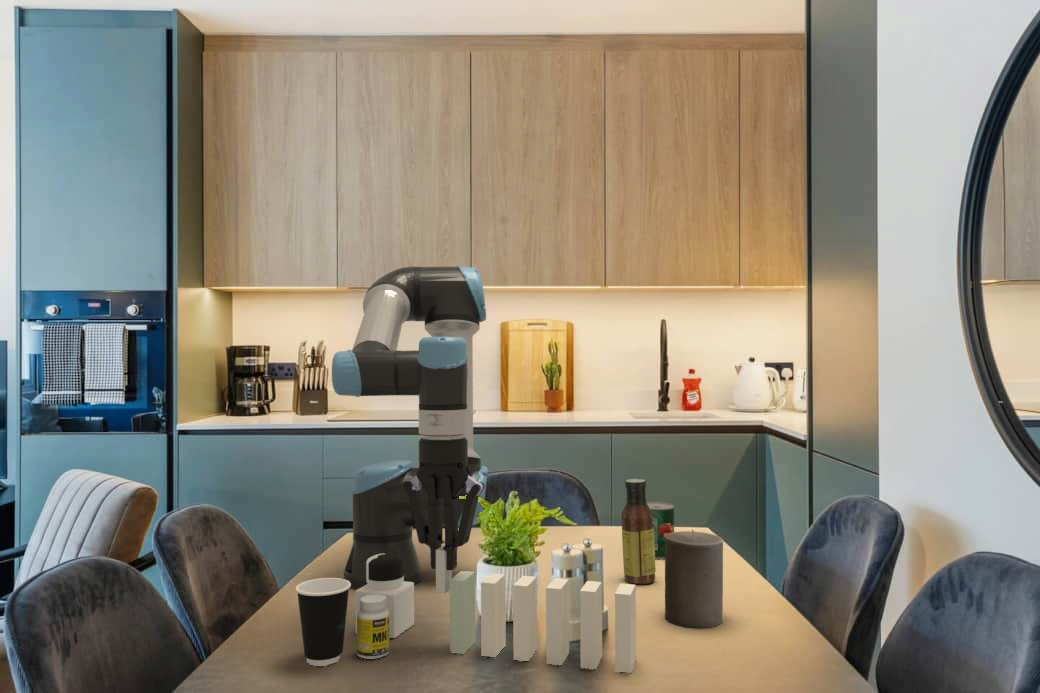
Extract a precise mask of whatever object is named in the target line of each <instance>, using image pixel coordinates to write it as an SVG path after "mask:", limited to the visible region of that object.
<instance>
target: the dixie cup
mask: <svg viewBox="0 0 1040 693" xmlns="http://www.w3.org/2000/svg"><path fill="white" fill-rule="evenodd" d="M350 588H351V583H350V582H349V581H348V580H345V579H344V578H340V577H339V578H338V577H321V578H320V577H319V578H314V579H309V580H306V581H302V582H300V583H298V584H297V585H296V586H295V592H296V593H297V600H298V608H299V615H300V616H299V617H300V627H301V635H302V643H303V644H302V645H303V653H304V657H305V658H306V663H309V664H311V665H327V664H331V663H334V662H336V661H338V660H339V659H340V660H341V656H342V653H343V651H344V650H343V649H344V639H345V630H346V621H347V610H348V601H349V591H350Z"/></svg>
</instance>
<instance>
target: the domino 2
mask: <svg viewBox="0 0 1040 693" xmlns="http://www.w3.org/2000/svg"><path fill="white" fill-rule="evenodd" d="M537 580H538V579H537V576H532V575H531V576H530V575H522V576H521V577H520V578H519V579H518V580H516V582H515V583H514V584H512V607H513V608H512V611H513V612H512V620H513V622H512V623H513V624H512V625H513V627H512V628H513V630H512V632H513V636H512V637H513V638H512V639H513V645H512V646H513V648H512V649H513V661H514V660H518V661H517V662H522V661H530V660H531V659H532V657H533V656H534V655H535V653H536V652H537V650H538V614H537V613H538V599H537V598H538V597H537V596H538V594H537V593H538V591H537V590H538V589H537V588H538V587H537V586H538V584H537ZM535 651H536V652H535ZM533 654H534V655H533ZM530 658H531V659H530Z"/></svg>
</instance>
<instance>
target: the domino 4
mask: <svg viewBox="0 0 1040 693" xmlns="http://www.w3.org/2000/svg"><path fill="white" fill-rule="evenodd" d="M602 586H603V582H602V581H594V580H593V581H592V580H586V582H585V583H584V584H583V586H582V587H581V588H580V590H579V605H580V606H579V617H580V618H579V620H580V621H579V626H580V627H579V629H580V630H579V631H580V632H579V635H580V639H579V640H580V641H579V643H580V669H584V668H585V669H586V670H593V669H596V670H597V668H598V666H599V664H600V663H601V660H602V658H603V602H602V601H603V598H602V597H603V587H602ZM600 659H601V660H600ZM587 668H588V669H587ZM585 669H584V670H585Z"/></svg>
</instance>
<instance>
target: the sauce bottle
mask: <svg viewBox="0 0 1040 693" xmlns="http://www.w3.org/2000/svg"><path fill="white" fill-rule="evenodd" d="M624 486H625V489H626V504H625V506H624V507H623V510H622V511H621V537H622V539H621V541H622V560H623V574H624V580H625V581H626V582H627V583H628V584H633V585H649V584H652V583H654V582H655V581H656V572H657V571H656V559H655V546H654V528H653V520H652V519H653V518H652V512H651V510H650V508H649V506H648V505H647V499H646V497H647V496H646V489H647V482H646V479H643V478H642V479H641V478H630V479H626V480H625V485H624Z"/></svg>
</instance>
